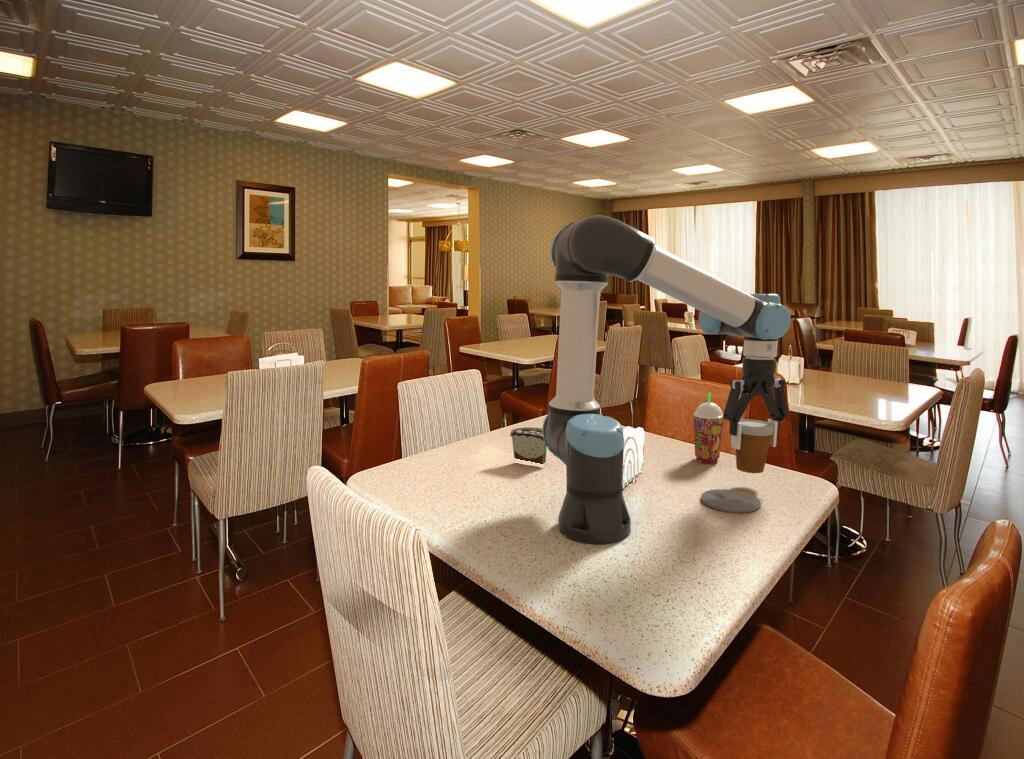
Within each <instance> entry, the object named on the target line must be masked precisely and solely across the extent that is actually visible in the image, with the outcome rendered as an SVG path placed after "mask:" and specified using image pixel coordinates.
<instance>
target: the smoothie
mask: <svg viewBox="0 0 1024 759" xmlns="http://www.w3.org/2000/svg"><path fill="white" fill-rule="evenodd" d="M711 396H712V393H711V392H708V395H707V397H708V398H707V402H703V403H700V404H699V405H698V406H697V408H696V409H695V411H694V412H693V432H694V456H695V457H696V460H697V461H698V462H700V463H704V464H715V463H716V462H718V460H719V459H720V456H721V455H720V454H721V446H722V438H723V437H722V436H723V430H724V429H723V428H724V421H725V419H723V414H724V412H723V411H722V409H721V407H720V406H719V405H718V404H716V403H715V402H711V401H712V400H711V398H712V397H711Z"/></svg>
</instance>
